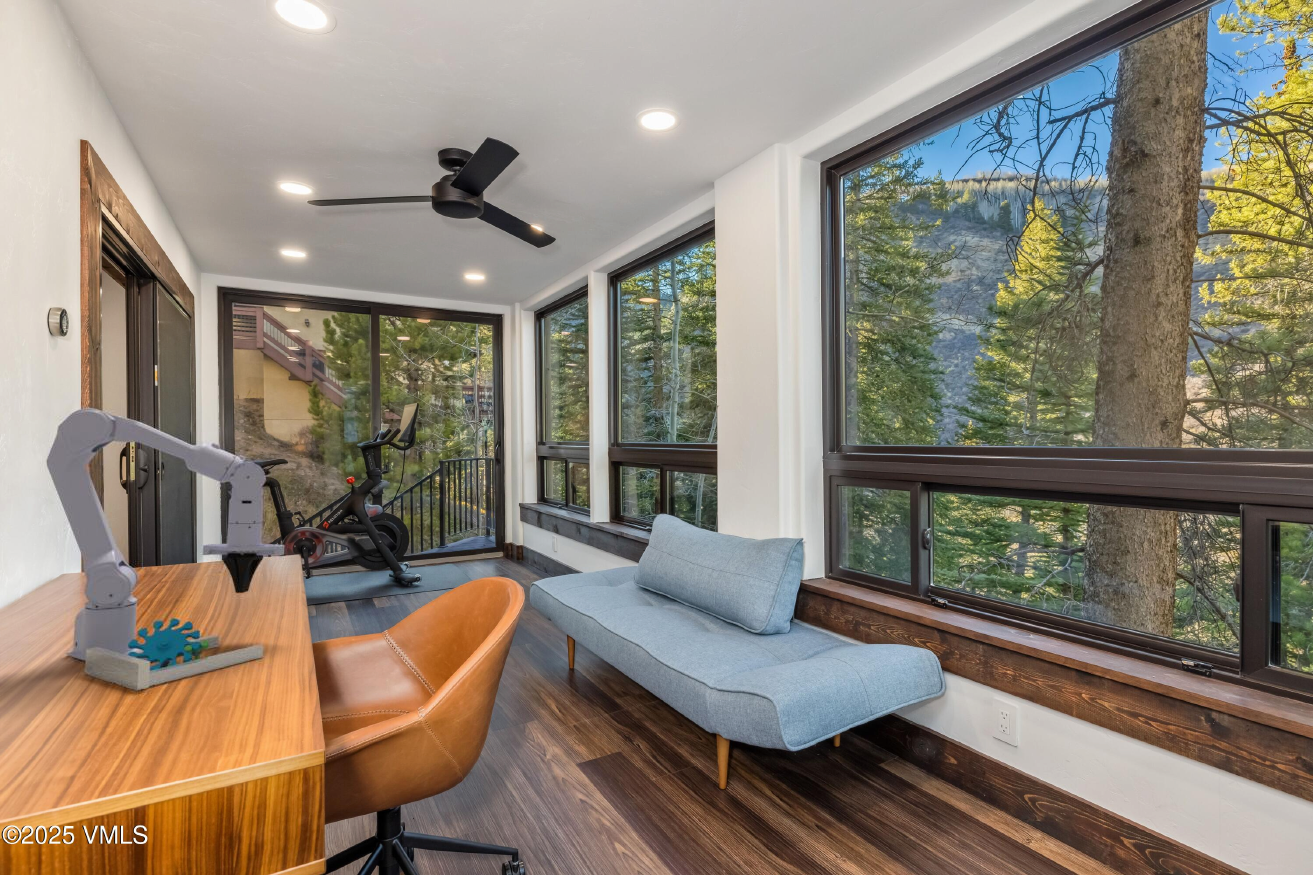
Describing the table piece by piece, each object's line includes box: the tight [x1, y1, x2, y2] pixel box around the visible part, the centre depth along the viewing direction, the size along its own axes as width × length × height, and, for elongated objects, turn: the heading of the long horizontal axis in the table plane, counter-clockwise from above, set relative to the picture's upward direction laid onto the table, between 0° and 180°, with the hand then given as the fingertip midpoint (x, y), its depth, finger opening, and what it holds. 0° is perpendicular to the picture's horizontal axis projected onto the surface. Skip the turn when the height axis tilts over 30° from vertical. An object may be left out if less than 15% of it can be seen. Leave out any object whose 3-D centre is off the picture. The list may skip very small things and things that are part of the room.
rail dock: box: [84, 634, 264, 692], centre depth 109 cm, size 16×20×4 cm
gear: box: [128, 617, 208, 671], centre depth 109 cm, size 11×6×10 cm
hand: (241, 591), depth 125 cm, fingers closed
